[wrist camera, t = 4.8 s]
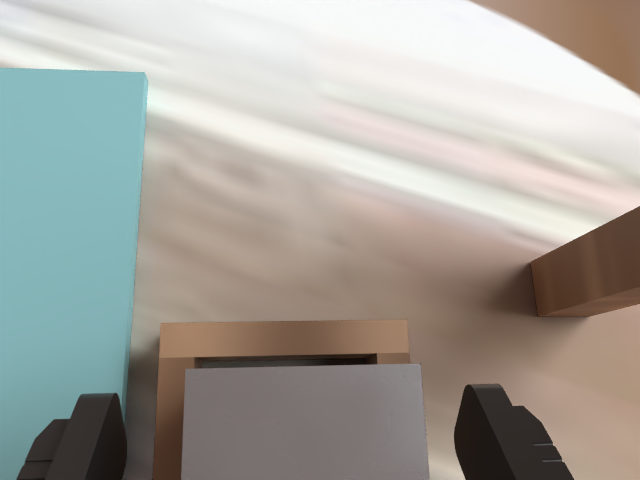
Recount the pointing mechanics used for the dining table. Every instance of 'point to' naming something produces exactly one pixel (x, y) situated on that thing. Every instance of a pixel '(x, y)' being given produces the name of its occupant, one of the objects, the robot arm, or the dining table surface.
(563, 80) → the dining table surface
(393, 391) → the steel bar
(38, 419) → the teal mat
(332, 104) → the dining table surface
